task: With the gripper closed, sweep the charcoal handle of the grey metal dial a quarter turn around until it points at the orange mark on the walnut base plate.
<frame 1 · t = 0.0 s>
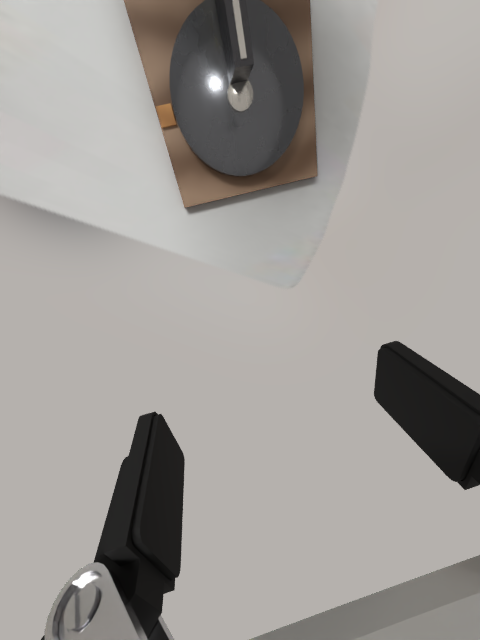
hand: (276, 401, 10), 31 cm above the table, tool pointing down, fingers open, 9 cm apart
dial: (240, 78, 25), point 4 cm above the table, hinge at 0.0°
dial base plate: (236, 104, 29), on the table
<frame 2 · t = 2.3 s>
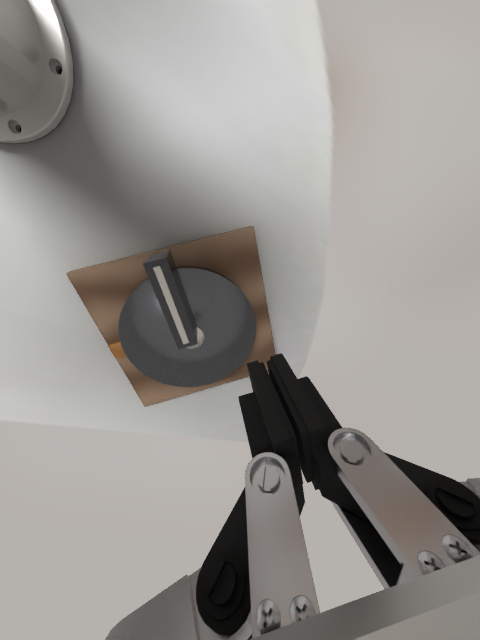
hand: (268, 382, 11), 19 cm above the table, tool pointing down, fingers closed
dial: (188, 334, 26), point 4 cm above the table, hinge at 0.0°
dial base plate: (191, 325, 30), on the table
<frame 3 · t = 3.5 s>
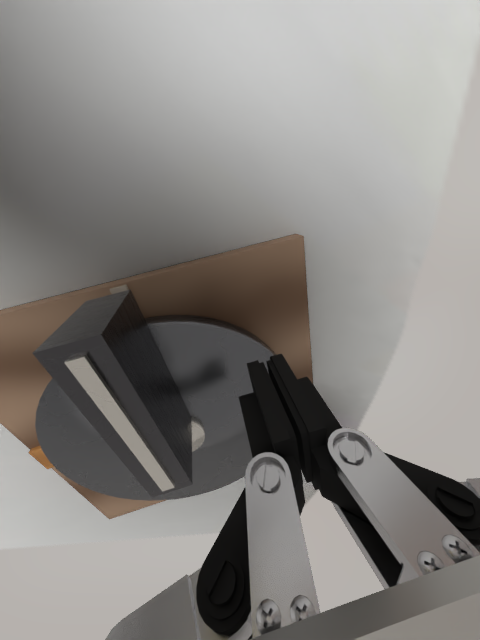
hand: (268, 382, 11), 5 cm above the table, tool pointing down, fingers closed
dial: (175, 443, 13), point 4 cm above the table, hinge at 0.0°
dial base plate: (182, 402, 17), on the table
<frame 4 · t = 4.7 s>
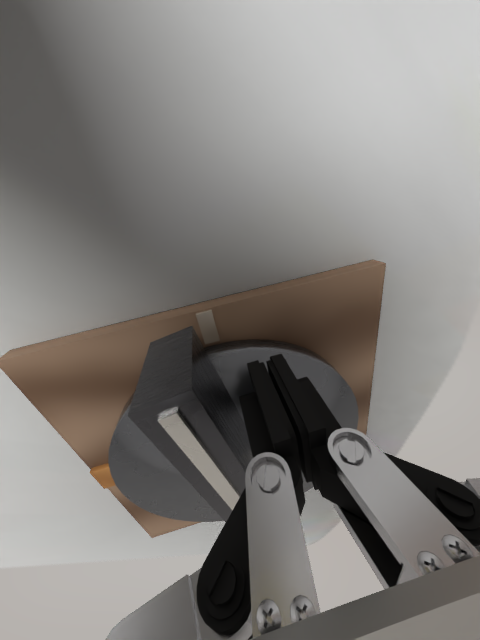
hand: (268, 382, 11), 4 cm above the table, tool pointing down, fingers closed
dial: (243, 470, 13), point 4 cm above the table, hinge at 8.8°, touching gripper
dial base plate: (237, 422, 17), on the table
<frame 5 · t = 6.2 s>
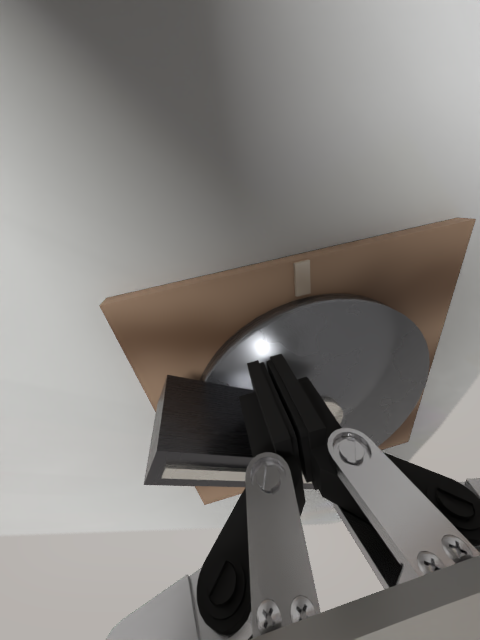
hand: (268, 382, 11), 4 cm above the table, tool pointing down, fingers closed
dial: (315, 432, 13), point 4 cm above the table, hinge at 57.4°, touching gripper
dial base plate: (301, 387, 17), on the table
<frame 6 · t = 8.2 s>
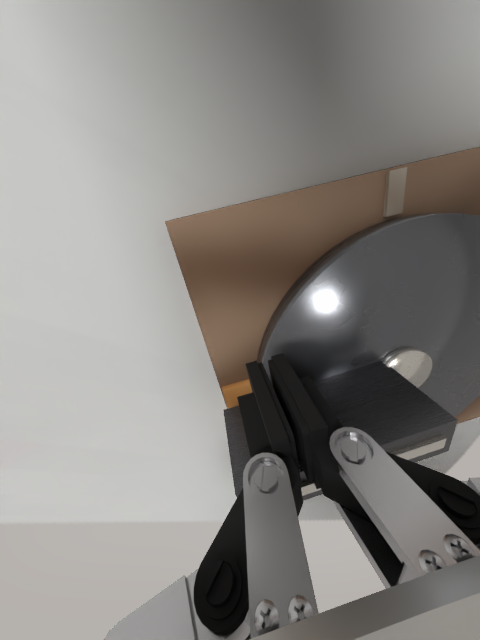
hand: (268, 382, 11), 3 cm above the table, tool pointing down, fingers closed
dial: (402, 392, 12), point 4 cm above the table, hinge at 91.2°, touching gripper
dial base plate: (368, 345, 15), on the table
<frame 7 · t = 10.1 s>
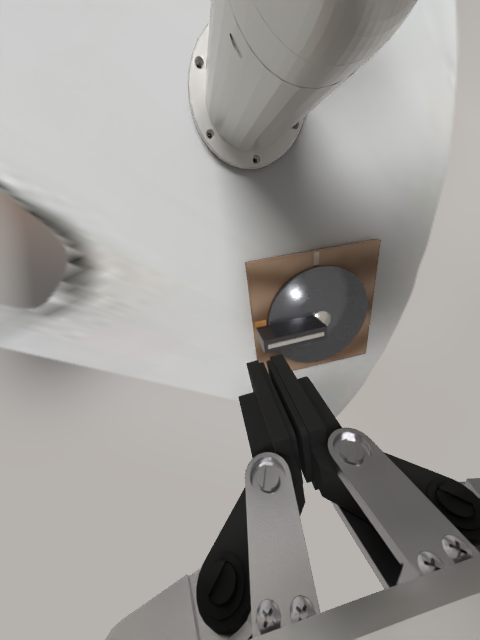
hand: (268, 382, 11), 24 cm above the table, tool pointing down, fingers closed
dial: (318, 324, 34), point 4 cm above the table, hinge at 91.3°
dial base plate: (312, 312, 37), on the table
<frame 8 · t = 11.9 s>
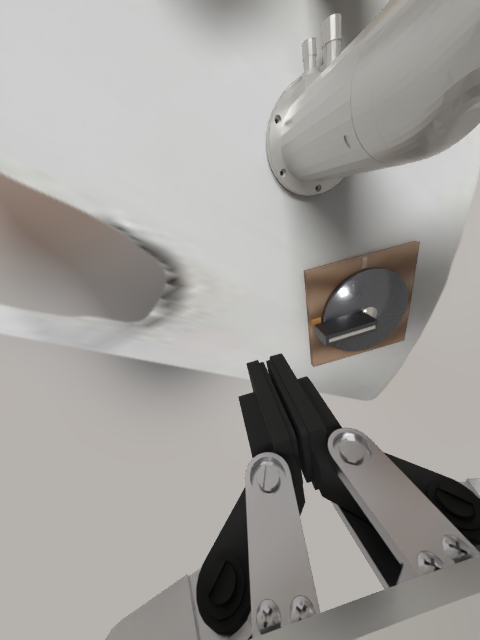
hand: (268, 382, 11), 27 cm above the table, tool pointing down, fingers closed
dial: (367, 318, 40), point 4 cm above the table, hinge at 91.3°
dial base plate: (358, 308, 43), on the table
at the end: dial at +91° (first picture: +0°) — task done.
